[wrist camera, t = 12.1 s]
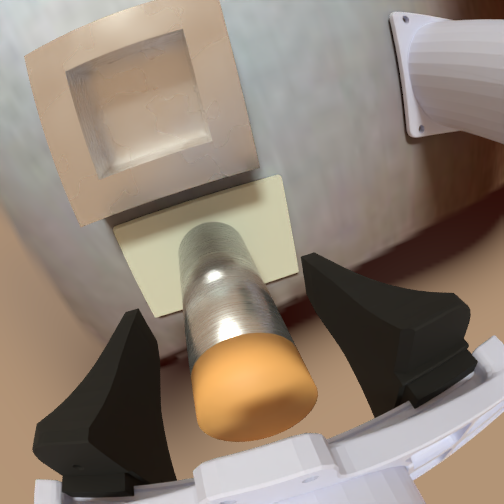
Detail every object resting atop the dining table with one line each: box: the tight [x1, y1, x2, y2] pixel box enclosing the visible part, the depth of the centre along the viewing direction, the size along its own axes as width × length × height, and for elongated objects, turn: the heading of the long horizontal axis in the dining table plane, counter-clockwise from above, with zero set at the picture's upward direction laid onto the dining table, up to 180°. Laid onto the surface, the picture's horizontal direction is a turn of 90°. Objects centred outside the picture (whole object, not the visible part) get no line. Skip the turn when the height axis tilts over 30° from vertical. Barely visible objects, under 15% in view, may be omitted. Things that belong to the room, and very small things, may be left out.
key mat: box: [113, 175, 299, 318], centre depth 17 cm, size 9×6×1 cm, turn 103°
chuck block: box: [24, 0, 260, 227], centre depth 12 cm, size 8×8×3 cm
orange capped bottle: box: [178, 222, 318, 442], centre depth 13 cm, size 4×4×10 cm
